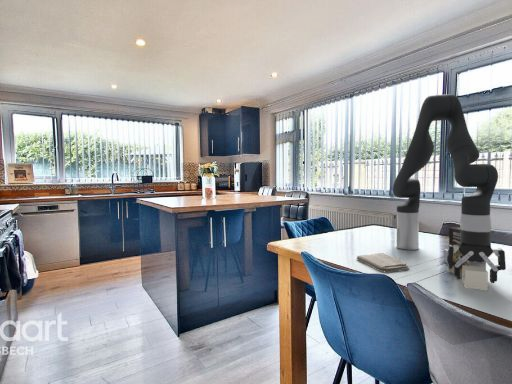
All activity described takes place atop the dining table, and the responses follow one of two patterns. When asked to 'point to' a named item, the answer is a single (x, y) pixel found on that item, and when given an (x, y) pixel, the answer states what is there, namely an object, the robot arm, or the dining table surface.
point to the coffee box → (455, 241)
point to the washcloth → (383, 262)
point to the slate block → (445, 255)
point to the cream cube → (475, 277)
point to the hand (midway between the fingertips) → (474, 280)
